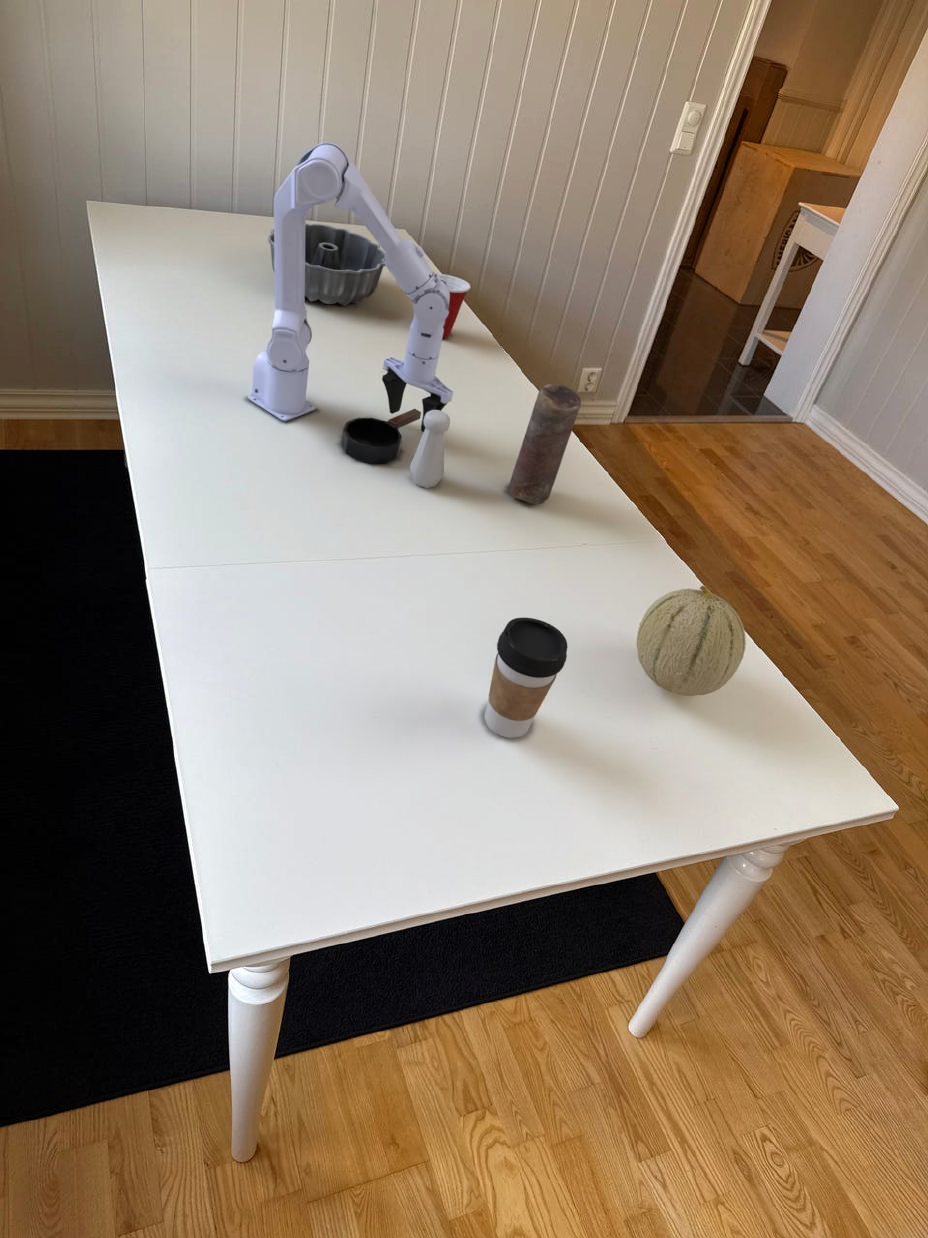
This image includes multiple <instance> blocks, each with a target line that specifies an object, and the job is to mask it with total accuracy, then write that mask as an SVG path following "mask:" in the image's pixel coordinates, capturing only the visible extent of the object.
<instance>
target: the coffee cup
mask: <svg viewBox="0 0 928 1238" xmlns="http://www.w3.org/2000/svg"><path fill="white" fill-rule="evenodd" d="M496 649H497V650H496V651H497V653H496V655H495V659H494V664H493V670H492V675H491V680H490V687H489V692H488V698H487V703H486V707H485V712H484V721H485V724H486V726H487V727H488V728H489V730H490V731H492V732H493V733H494V734H496V735H498V736H501V737H503V738H507V739H515V738H519V737H522V736H523V735H525V734H527V732H528V730H529V728H530V727H531V724H532V722H533V721H534V719H535V717H536V715H537V713H538V711H539V709H540V708H541V706H542V704H543V703H544V701H545V699H546V697H547V696H548V693H549V692H550V690H551V688H552V686H553V685H554V682H555V680H556V679H557V676H558V674H559V673H560V672H561V671H562V670H563V668H564V666H565V664H566V662H567V658H568V655H567V652H568V641H567V639H566V636H565V635H564V634H563V633H562V632H561V631H560V630H559V629H558V628H557V627H555V626H554V625H553V624H551V623H548V622H546V621H544V620H541V619H539V618H538V619H537V618H532V617H516V618H512V619H510V621H508V622H507V623H506V625H505V627H504V628H503V630H502V632H501V633H500V634H499V637H498V639H497V642H496Z"/></svg>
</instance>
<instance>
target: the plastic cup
mask: <svg viewBox="0 0 928 1238" xmlns="http://www.w3.org/2000/svg"><path fill="white" fill-rule="evenodd" d="M438 274H439V276H440V277H441V278H442V279H443V280H445V281H446V284H447V286H448V289H449V293H450V300H449V308H448V311H449V314H448V316H447V318H446V319H445V324H444V326H443V329H444V332H443V337H442V340H443V339H448V338H449V337H450V334H451V333H452V330H453V327H454V325H455V323H456V321H457V318H458V316H459V313H460V310H461V307H462V304H463V301H464V300H465V297H466V296H467V293H468V292H469V290H470V289H471V284H470V283H469V282H467V281H466V280H464V279H463V278H460V277H457V276H454V275H449V274H443V273H438Z"/></svg>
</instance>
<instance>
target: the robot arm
mask: <svg viewBox="0 0 928 1238" xmlns="http://www.w3.org/2000/svg"><path fill="white" fill-rule="evenodd" d="M335 199H336V202H335V203H334V208H336V209H341V210H346V211H350V212H353V213H354V214H355V215H356V216H357V218H358V219H359V221H360V222H361V223H362V224H363V225H364V227H365V228H366V229H367V231H368V232H369V233H370V234H371V236H372V238H374V240H375V241H376V242H377V243H378V245H379V246H380V248H381V249H382V250H383V251H384V252H385V253H386V255H385V266H384V267H386V268H387V270H388V272H389V273H390V274H391V275H392V277H393V278H394V280H395V281H396V283H397V284H398V285H399V286H400V288H401V290H402V291H403V292H404V294H405V295H406V297H408V298H409V299H410V300H412V302H413V303H412V311H413V320H412V321H411V323H410V326H409V332H408V337H407V344H406V349H405V355H404V361H402V360H400V359H397V358H395V357H393V356H389V357H387V358H386V357H385V358H384V359H383V364H382V365H383V366H382V369H383V370H384V371H386V373H385V374H383V375H382V378H381V381H382V383H383V385H384V389H385V391H386V394H387V401H388V410H389V413H390V414H392V415H393V414H396V413H398V412H400V410H401V408H402V404H403V398H404V393H405V389H406V387H407V385H409V386H412V387H416V388H418V389H421V390H423V391H425V392H427V393H429V394H430V395H429V396H426V397H423V398H421V403H422V420H421V425H420V432H422V433H424V431H425V428H426V427H425V426H424V423H423V421H424V417H425V415H426V413H427V412H429V411H431V410H439V411H443V409H444V408H445V407H446V405H447V404H448V403H450V402H452V399H453V395H454V391H453V390H452V389H450V388H449V387H448V386H447V385H446V384H444V382H442V381H441V380H440V378H439V377H437V376H436V374H437V373H436V371H437V367H438V361H439V357H440V352H441V347H442V342H443V339H442V337H443V332H444V329H443V326H444V324H445V319H446V318H447V316H448V314H449V311H448V308H449V300H450V293H449V289H448V286H447V284H446V281H445V280H443V279H442V278H441V277H440V276H439V274H440V273H437V272H436V273H435V272H434V271H433V269H432V267H431V266H430V265H429V263H428V262H427V260H426V259H425V257H424V255H425V250H424V249H423V247H422V246H421V245H419V246H416V244H415V243H414V242H413V241H412V240H410V239H409V240H408V239H404V238H402V237H401V236H400V234H399V233H398V231H397V229H396V228H395V227H394V225H393V224H392V222H391V220H390V218H389V217H388V215H387V214H386V212H385V210H384V209H383V207H382V206H381V204H380V203H379V201H378V199H377V198H376V196H375V194H374V193H373V191H372V190H371V188H370V187H369V185H368V183H367V182H366V180H365V179H364V177H363V175H362V174H361V172H360V170H359V168H357V166H356V165H355V163H353V162H352V161H350V162H349V158H348V155H347V154H346V153H345V151H344V149H342V148H341V147H340V146H339V145H338V144H335V143H333V142H326V141H325V142H320V143H318V144H317V145H315V146H313V147H312V148H310V149H309V150H308V151H306V152H305V153H303V155H302V156H301V158H300V159H299V160H298V162H297V163H296V165H295V166H294V167H293V169H292V171H291V172H290V173H289V175H288V176H287V177H286V179H285V180H284V181H283V183H282V184H281V186H280V187H279V189H278V190H277V192H276V193H275V194H274V199H273V229H274V253H275V273H274V312H273V313H274V315H273V319H272V323H271V324H272V325H271V337H270V339H269V341H268V342H267V345H266V349H264V350H262V351H261V352H260V353H259V354H258V355H257V356H256V358H255V359H254V363H253V366H252V382H251V383H252V384H251V385H252V386H251V394H250V395H248V397H247V399H248V400H249V401H251V402H252V403H253V404H255V405H257V406H258V407H260V408H262V410H264V411H266V412H268V413H270V414H271V415H273V416H274V417H276V418H277V419H279V420H281V421H283V422H288V421H290V420H293V419H295V418H297V417H301V416H303V415H305V414H308V413H310V412H313V411H316V407H315V406H314V405H312V404H311V403H309V402H308V401H306V400H307V390H308V379H309V368H310V367H309V366H310V359H309V357H308V355H307V352H306V351H307V349H308V347H309V344H310V343H311V342H312V339H313V330H312V328H311V325H310V323H309V321H308V310H307V308H306V305H305V304H306V303H305V299H306V296H305V223H307V222H306V218H307V217H306V215H307V212H309V211H311V210H312V209H313V208H314V207H315V206H319V205H323V204H326V203H329V202H332V201H333V200H335Z"/></svg>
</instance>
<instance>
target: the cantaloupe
mask: <svg viewBox="0 0 928 1238" xmlns="http://www.w3.org/2000/svg"><path fill="white" fill-rule="evenodd" d="M746 641H747V640H746V631H745V627H744V623H743V622H742V619H741V617H740V615H739V614H738V612H736V610H735V608H734V607H733V606H732V605H731V604H730V603H729V602H727V601H726V600H725V599H723V598H721V596H720V597H719V596H718V595H716V594H715V593H712V591H711V590H710V588H709V587H708V586H707V585H701V586H700V587H699V589H695V588H681V589H677V590H673V591H669V592H667V593H666V594H663V595H662V596H661V597H659V598H658V599H656V600H655V601H654V602H653V603H652V604H651V605H650V606H649V607H648V608H647V610H646V611H645V613H644V615H643V616H642V619H641V621H640V623H639V627H638V630H637V635H636V651H637V658H638V660H639V663H640V665H641V668H642V669H643V671H644V672H645V674H646V675H647V677H649V679H651V681H652V682H653V683H654V684H656V685H657V686H658V687H660V688H661V689H663V690H666V691H668V692H671V693H675V694H677V695H681V696H686V697H696V696H697V697H698V696H706V695H709V694H712V693H714V692H717V691H719V690H720V689H721V688H723V687H724V686H725V685H726V684H728V682H729V681H730V680H731V679H732V678H733V676H734V675H735V673H736V672H737V671H738V670H739V669H738V668H739V667H740V665H741V664H742V661H743V659H744V655H745V650H746V645H747V643H746Z"/></svg>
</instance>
